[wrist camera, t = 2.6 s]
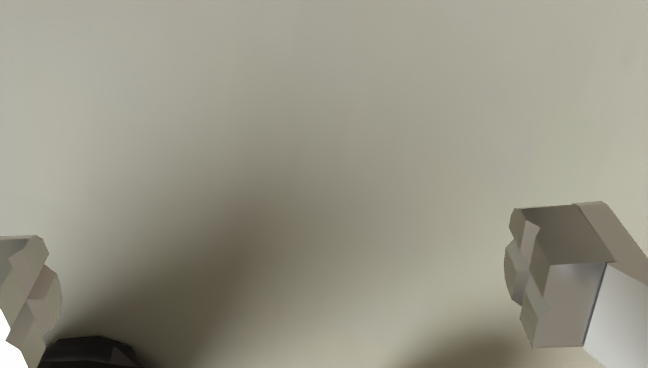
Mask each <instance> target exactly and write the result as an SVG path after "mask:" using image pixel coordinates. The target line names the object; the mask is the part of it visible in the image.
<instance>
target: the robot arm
mask: <svg viewBox="0 0 648 368" xmlns="http://www.w3.org/2000/svg"><path fill="white" fill-rule="evenodd" d="M509 229H510V231H511V233H512V235H513V237H514V239H513V240H512V241H511V243H510V244H509V245H508V246H507V247H506V249H505V257H504V273H505V281H506V285H507V289H508V291H509V294H510V296H511V299H512V300H513V301H515V302H516V303H518V304H519V305H520V306H522V309H521V314H520V320H521V323H522V325H523V327H524V330H525V332H526V334H527V337H528V339H529V341H530V344H531V346H532V348H550V347H580V346H584V347H583V349H584V350H585V351H586V352H588V353H589V354H590V355H591V356H592V357H594V358H595V359H596V360H597V361H598V362H600V363H601V364H602V365H603V366H604V367H605V368H648V258H647V257H646V255H645V254H644V253H643V251H642V250H641V249H640V247H639V246H638V245H637V243H636V242H635V241H634V239H633V238H632V237H631V235H630V234H629V233H628V231H627V230H626V229H625V227H624V226H623V225H622V223H621V222H620V221H619V219H618V218H617V217H616V215H615V214H614V213H613V211H612V210H611V209H610V207H609V206H608V205H607V204H606V203H604V202H602V201H597V202H585V203H573V204H571V205H558V206H542V207H526V208H514V210H513V212H512V214H511V218H510V224H509ZM48 255H49V252H48V250H47V248H46V245H45V243H44V241H43V239H42V238H40V237H38V236H37V235H25V236H0V368H37V366H38V364H39V362H40V360H41V357H42V355H43V353H44V351H45V348H46V345H45V343H44V340H43V338H42V336H44V335H45V334H46V333H47V332H49V331H50V330H51V329H53V328H54V327H55V325H56V323H57V320H58V318H59V315H60V311H61V303H62V293H61V285H60V282H59V279H58V276H57V274H56V273H55V272H54V271H52V270H51V269H50V268H48V267H47V266H46V265H44V263H45V261H46V259H47V257H48Z"/></svg>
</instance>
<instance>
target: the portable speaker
mask: <svg viewBox="0 0 648 368" xmlns="http://www.w3.org/2000/svg"><path fill="white" fill-rule="evenodd" d="M37 368H145V367H144V366H143V365H142V364H140V363H139V362H138V359H137V357H136V355H135V353H134V351H133V349H132V347H130V346H127V345H124V344H121V343H118V342H114V341H111V340H108V339H105V338H102V337H99V336H95V337H85V338H74V339H63V340H58V341H57V342H56V343H54V344H53V345H52V346H51V347H50V348H49V349H48V350H47V351H46V352H44V353H43V355H42V357H41V360H40V362H39V364H38V366H37Z"/></svg>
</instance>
